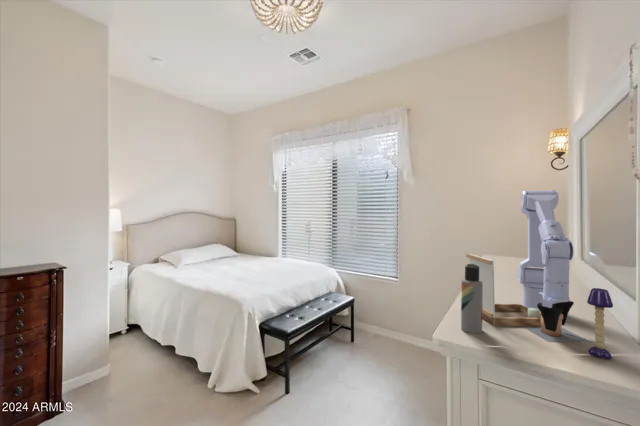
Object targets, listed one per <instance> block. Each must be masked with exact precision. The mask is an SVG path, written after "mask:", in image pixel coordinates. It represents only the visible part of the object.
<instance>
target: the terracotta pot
mask: <svg viewBox="0 0 640 426" xmlns="http://www.w3.org/2000/svg"><path fill="white" fill-rule="evenodd" d="M540 315H541V326H540V327H541V329H540V331H541V332H542V333H544V334H547V335H551V336H561V333H562V328H563V325H562V319H563V314H562V313H561V314H560V316H559V319H558V324H557V329H556V331H555V332H554V331H550V330H547V329H546V328H545V324H544V320H543V317H542V314H541V312H540Z"/></svg>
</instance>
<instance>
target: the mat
mask: <svg viewBox="0 0 640 426" xmlns="http://www.w3.org/2000/svg"><path fill="white" fill-rule="evenodd" d="M522 328H524V329H525V330H527V331H529V332H530V333H533V334H534V335H536V336H537V337H539V338H541V339H543V340H544V341H546V342H547V343H592V341H591V340H589V339H586V338H585V337H583V336H581V335H578V334H576V333H575V332H573V331H571V330H568V329H566V328H564V327H562V333H561V336H551V335H547V334H544V333H542V332H541V331H540V329H541V326H522Z"/></svg>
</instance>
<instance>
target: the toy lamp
mask: <svg viewBox="0 0 640 426" xmlns="http://www.w3.org/2000/svg"><path fill="white" fill-rule="evenodd" d="M586 303H587V304H588V305H589V306H590V305H591V306H593V307H594V310H595V312H594V315H595V317H594V322H595V323H594V329H595V330H594V333H595V334H594V335H595V336H594V337H595V338H594V339H595V346H591V347H590V348H589V349H588V353H589V355H591V356H592V355H593V356H592V357H596V358H598V357H599V358H598V359H602V358H604V359H603V360H611V359H612V358H613V356H612V354H611V353H610V351H608V350H607V349H606V348H605V347H606V345H605V340H606V339H605V335H606V334H605V325H604V323H605V312H604V311H605V308H606V309H611V308H613V307H614V305H613V304H614V303H613V301H612V299H611V295H610V293H609V290H608V289H604V288H597V287H594V288H591V290H590V292H589V295H588V298H587V302H586Z"/></svg>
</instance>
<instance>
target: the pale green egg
mask: <svg viewBox="0 0 640 426" xmlns="http://www.w3.org/2000/svg"><path fill="white" fill-rule="evenodd" d="M528 318H541V315H540V310H539V309H537V308H528Z"/></svg>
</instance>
